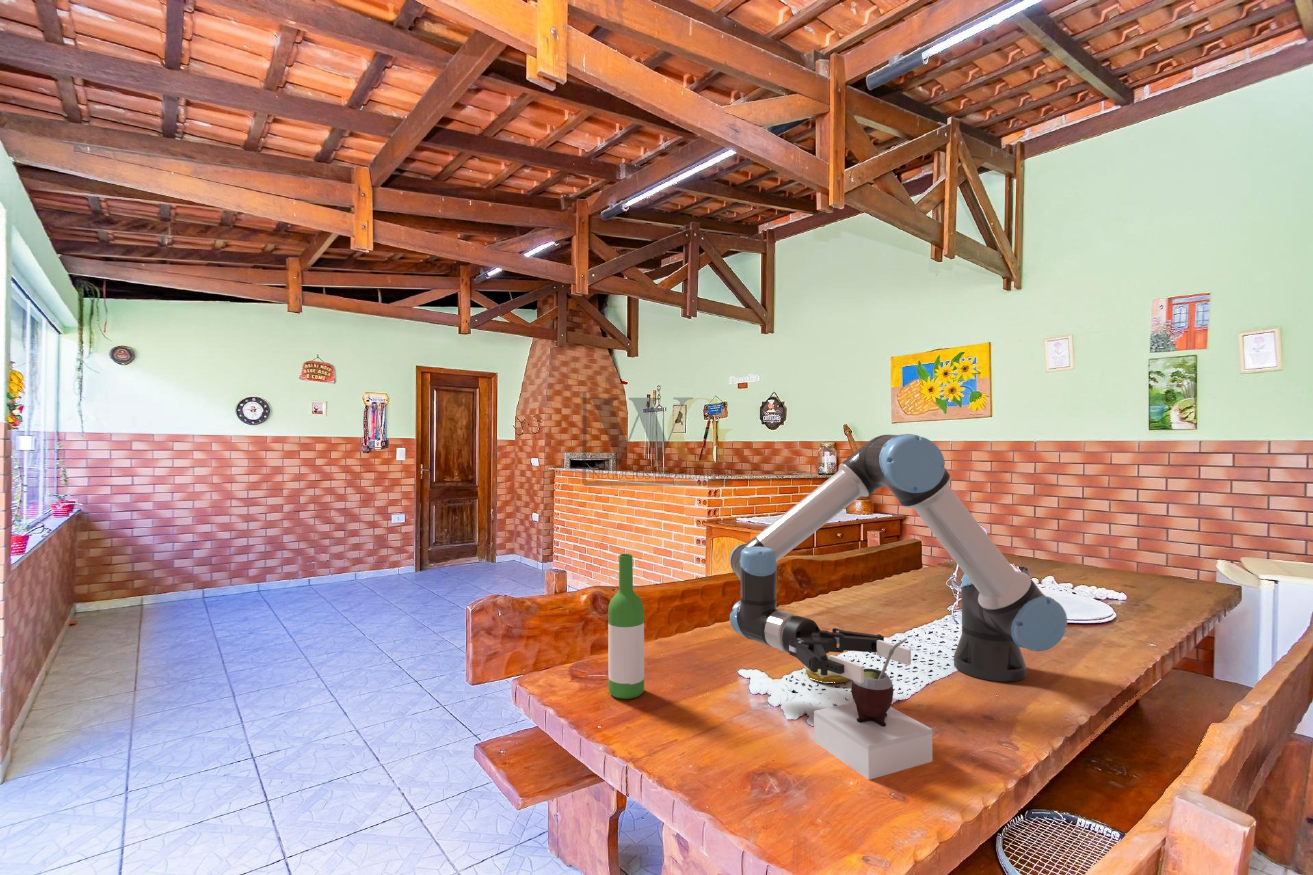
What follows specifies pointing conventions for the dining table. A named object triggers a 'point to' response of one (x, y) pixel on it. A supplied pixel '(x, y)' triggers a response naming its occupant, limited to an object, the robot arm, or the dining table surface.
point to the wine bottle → (626, 636)
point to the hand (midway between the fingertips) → (887, 665)
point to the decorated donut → (828, 678)
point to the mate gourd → (874, 693)
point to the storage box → (873, 740)
